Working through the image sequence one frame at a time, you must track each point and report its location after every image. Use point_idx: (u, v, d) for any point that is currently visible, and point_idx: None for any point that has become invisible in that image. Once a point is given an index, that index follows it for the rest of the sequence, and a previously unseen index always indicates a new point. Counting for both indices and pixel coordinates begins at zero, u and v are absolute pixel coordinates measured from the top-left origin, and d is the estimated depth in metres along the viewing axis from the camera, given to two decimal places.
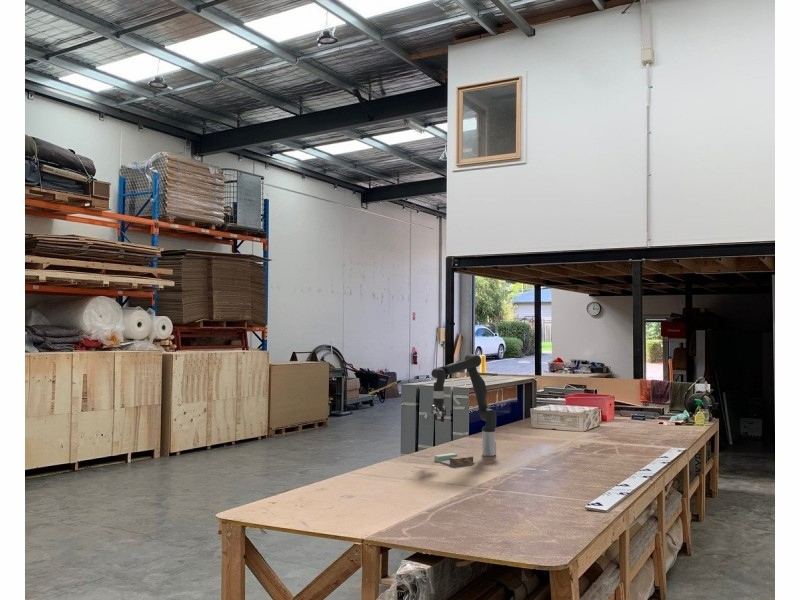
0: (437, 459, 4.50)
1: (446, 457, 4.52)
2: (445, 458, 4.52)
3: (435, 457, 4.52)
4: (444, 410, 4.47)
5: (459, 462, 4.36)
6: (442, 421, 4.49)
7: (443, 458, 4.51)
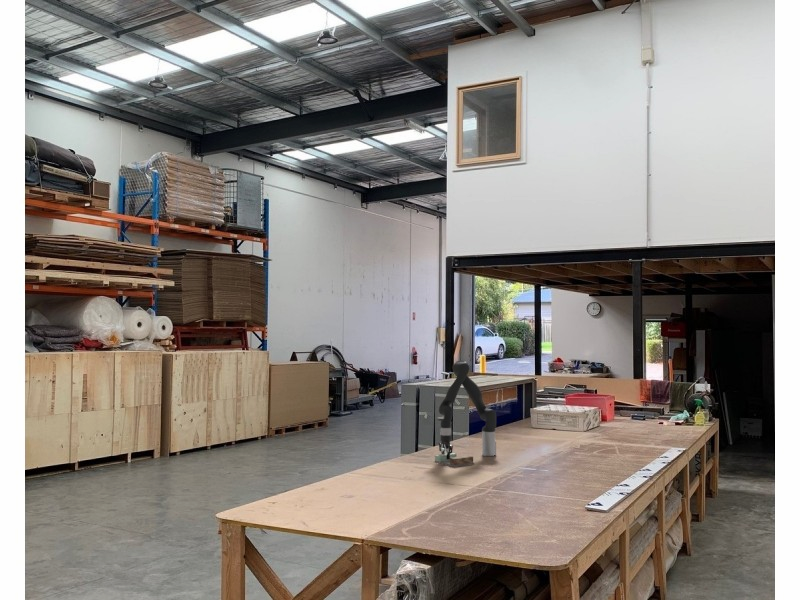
0: (438, 459, 4.49)
1: (446, 457, 4.52)
2: (446, 458, 4.52)
3: (436, 457, 4.51)
4: (451, 448, 4.50)
5: (459, 462, 4.36)
6: (448, 459, 4.52)
7: (444, 458, 4.51)
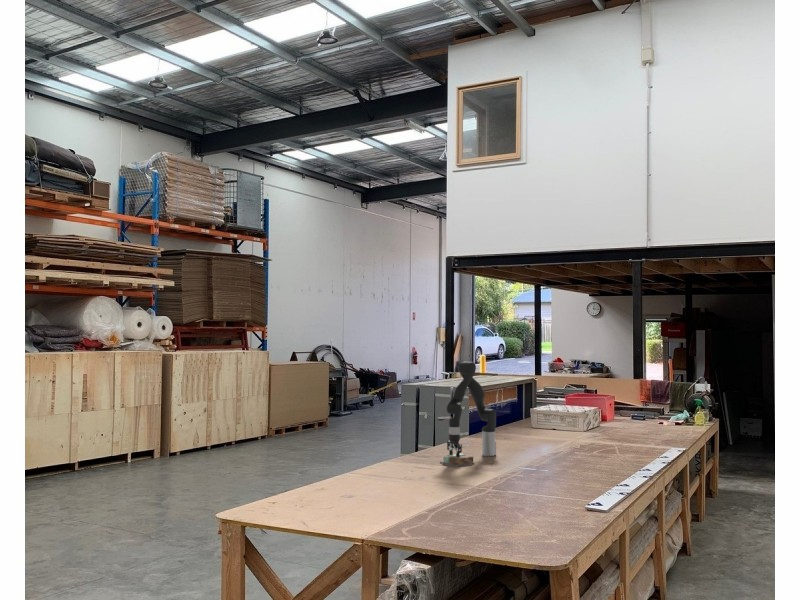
0: (446, 460, 4.41)
1: None
2: None
3: (444, 458, 4.43)
4: (460, 447, 4.41)
5: (459, 462, 4.36)
6: None
7: None
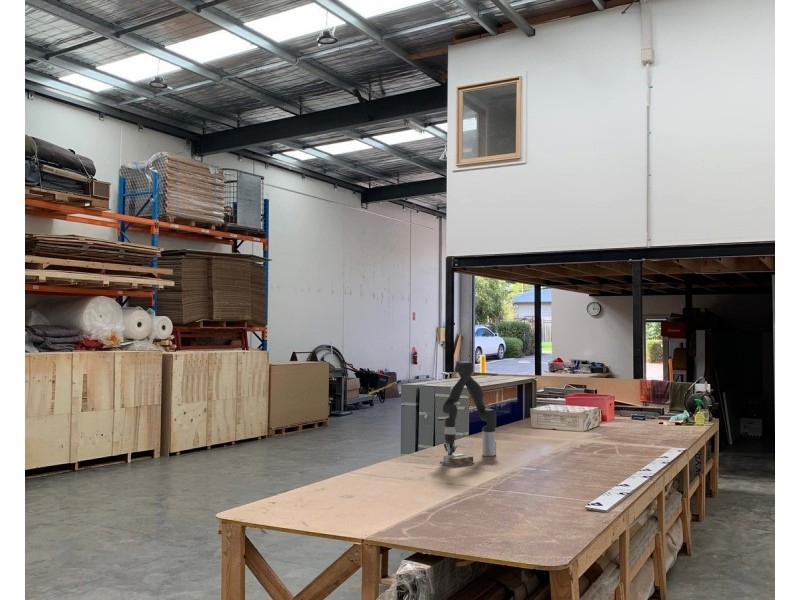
0: (446, 460, 4.41)
1: None
2: None
3: (444, 458, 4.43)
4: (454, 449, 4.47)
5: (459, 462, 4.36)
6: None
7: None
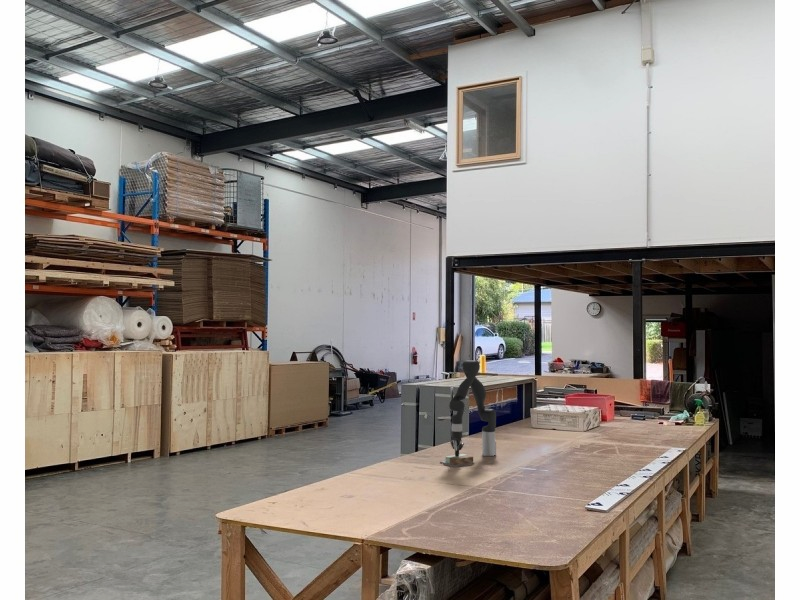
0: (448, 460, 4.39)
1: None
2: None
3: (446, 458, 4.41)
4: (461, 446, 4.40)
5: (459, 462, 4.36)
6: (457, 455, 4.43)
7: None
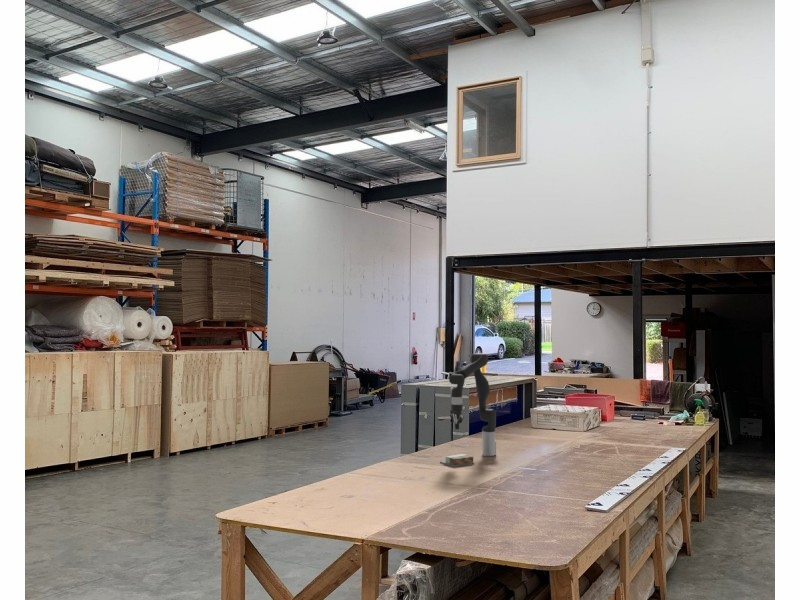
0: (448, 460, 4.39)
1: None
2: None
3: (446, 458, 4.41)
4: (461, 419, 4.41)
5: (459, 462, 4.36)
6: None
7: None
